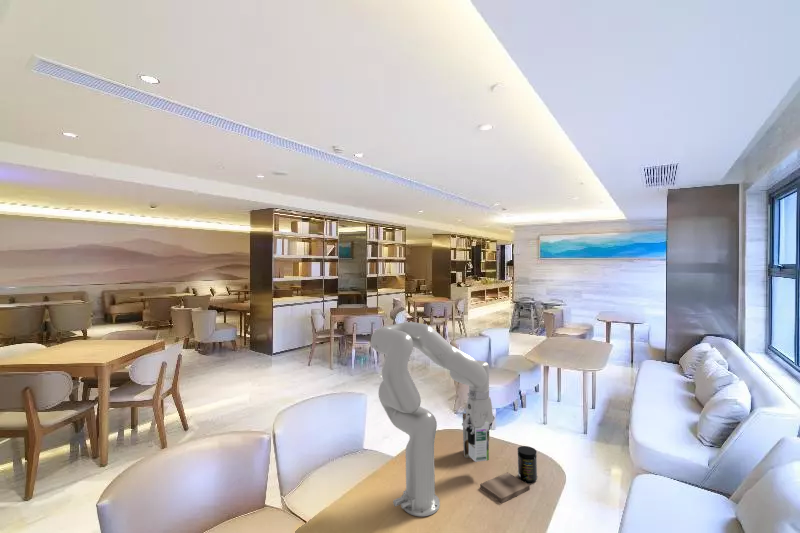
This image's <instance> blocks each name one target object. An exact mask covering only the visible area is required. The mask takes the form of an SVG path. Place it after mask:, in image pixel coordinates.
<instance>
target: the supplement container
mask: <svg viewBox="0 0 800 533" xmlns="http://www.w3.org/2000/svg"><path fill="white" fill-rule="evenodd" d="M537 458H538V454H537V450H536V449H535V448H534V447H531V446H527V445H521V446H519V447H517V476H518V477H517V478H518V479H520V480H522V481H523V482H525V483H527V484H533V483H536V482H537V480H538V463H537V462H538V461H537V460H538V459H537Z"/></svg>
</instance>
